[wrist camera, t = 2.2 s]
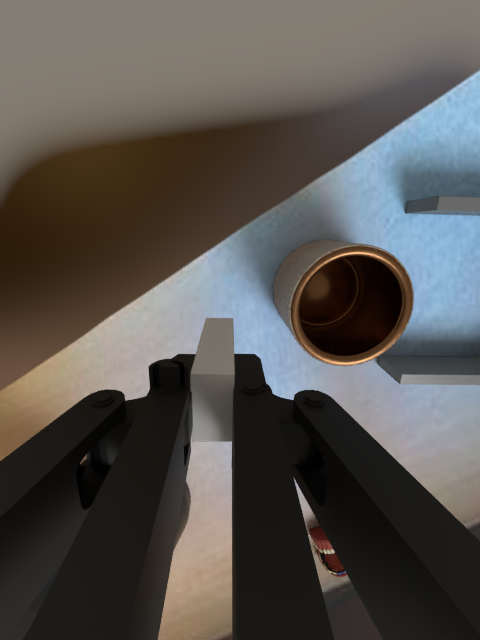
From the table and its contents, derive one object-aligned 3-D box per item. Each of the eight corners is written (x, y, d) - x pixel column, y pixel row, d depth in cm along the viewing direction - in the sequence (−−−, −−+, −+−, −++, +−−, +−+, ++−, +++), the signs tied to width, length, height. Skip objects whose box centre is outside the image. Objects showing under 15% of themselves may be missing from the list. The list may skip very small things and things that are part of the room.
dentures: (351, 541, 40) (363, 578, 42) (341, 513, 44) (352, 547, 46) (312, 551, 41) (326, 586, 43) (305, 521, 45) (319, 555, 47)
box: (377, 364, 37) (399, 384, 32) (407, 201, 31) (439, 196, 26) (496, 365, 37) (535, 385, 32) (546, 205, 32) (602, 201, 27)
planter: (341, 220, 31) (387, 215, 22) (379, 303, 34) (433, 330, 25) (254, 271, 33) (264, 287, 24) (298, 347, 36) (321, 387, 27)
